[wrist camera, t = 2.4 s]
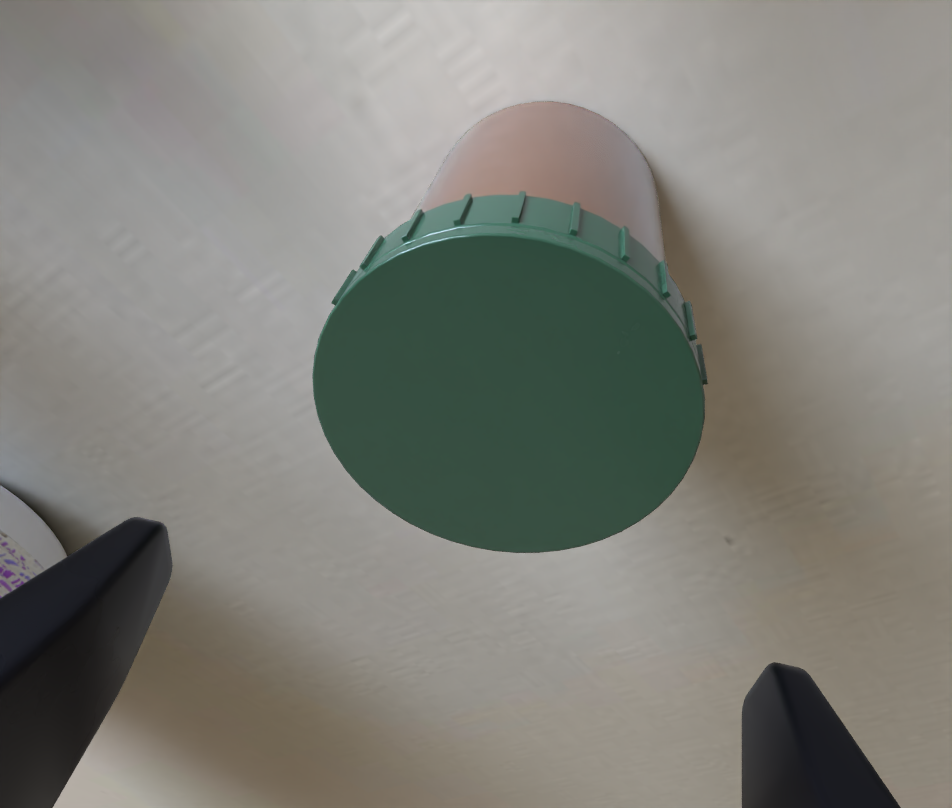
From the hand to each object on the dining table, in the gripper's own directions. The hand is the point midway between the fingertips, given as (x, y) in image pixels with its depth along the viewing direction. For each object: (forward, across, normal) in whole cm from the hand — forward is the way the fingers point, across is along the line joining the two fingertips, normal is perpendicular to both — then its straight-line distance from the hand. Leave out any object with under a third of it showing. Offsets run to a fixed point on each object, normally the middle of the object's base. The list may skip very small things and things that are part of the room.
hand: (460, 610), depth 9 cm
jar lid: (+4, 0, 0) cm, 4 cm away
